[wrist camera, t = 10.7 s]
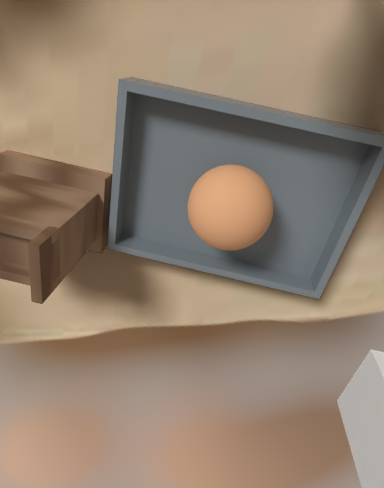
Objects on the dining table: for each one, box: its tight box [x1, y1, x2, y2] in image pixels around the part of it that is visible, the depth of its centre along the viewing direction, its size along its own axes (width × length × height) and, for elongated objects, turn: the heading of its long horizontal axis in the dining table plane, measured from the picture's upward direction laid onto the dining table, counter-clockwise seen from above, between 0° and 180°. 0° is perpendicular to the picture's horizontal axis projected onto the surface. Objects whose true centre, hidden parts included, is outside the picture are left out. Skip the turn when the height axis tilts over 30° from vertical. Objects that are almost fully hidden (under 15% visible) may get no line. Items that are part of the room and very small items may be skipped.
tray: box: [107, 77, 384, 299], centre depth 26 cm, size 18×13×3 cm
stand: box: [0, 150, 112, 304], centre depth 25 cm, size 9×7×10 cm
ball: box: [187, 164, 273, 251], centre depth 24 cm, size 6×6×6 cm
